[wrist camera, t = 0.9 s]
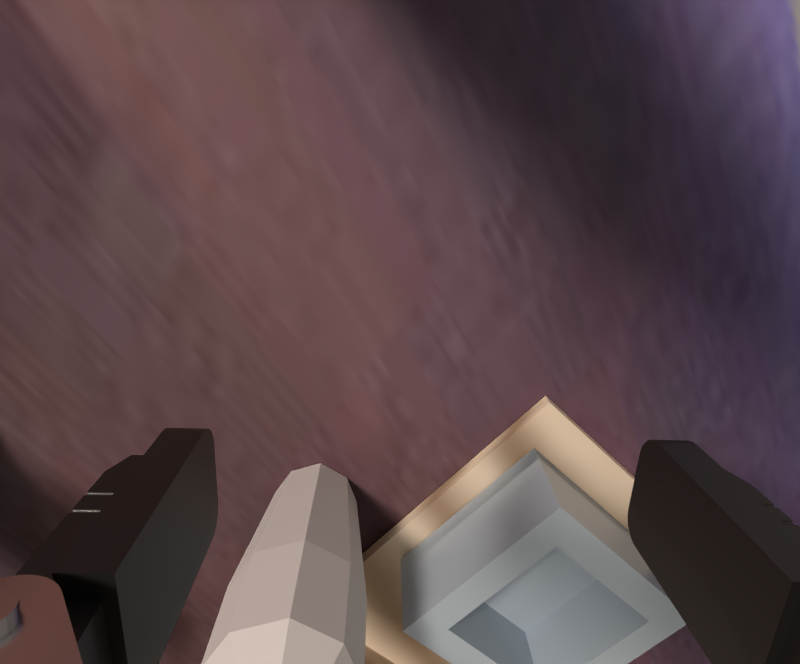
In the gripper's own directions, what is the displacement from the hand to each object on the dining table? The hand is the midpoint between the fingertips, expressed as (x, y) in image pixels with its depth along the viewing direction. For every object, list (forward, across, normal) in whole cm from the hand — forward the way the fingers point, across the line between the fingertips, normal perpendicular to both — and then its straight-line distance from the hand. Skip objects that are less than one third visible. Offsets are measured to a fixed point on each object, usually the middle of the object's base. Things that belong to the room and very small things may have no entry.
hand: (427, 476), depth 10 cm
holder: (+18, -9, +17) cm, 27 cm away
